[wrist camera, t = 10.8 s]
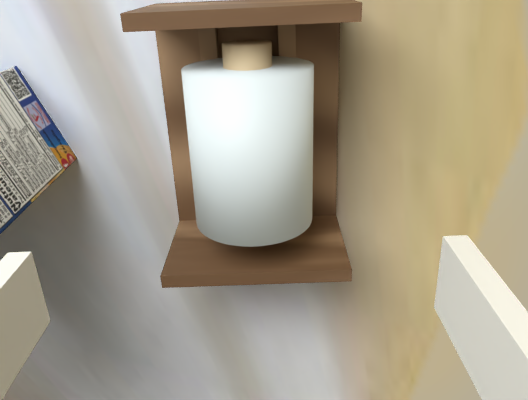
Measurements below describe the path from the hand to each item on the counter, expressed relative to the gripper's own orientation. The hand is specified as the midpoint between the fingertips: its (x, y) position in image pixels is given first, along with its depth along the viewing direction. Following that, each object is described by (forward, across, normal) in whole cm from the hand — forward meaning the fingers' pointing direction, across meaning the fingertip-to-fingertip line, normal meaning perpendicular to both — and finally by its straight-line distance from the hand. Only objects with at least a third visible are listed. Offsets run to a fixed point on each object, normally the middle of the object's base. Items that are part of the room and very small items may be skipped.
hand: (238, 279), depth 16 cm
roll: (+17, +1, 0) cm, 17 cm away
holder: (+18, 0, 0) cm, 19 cm away
